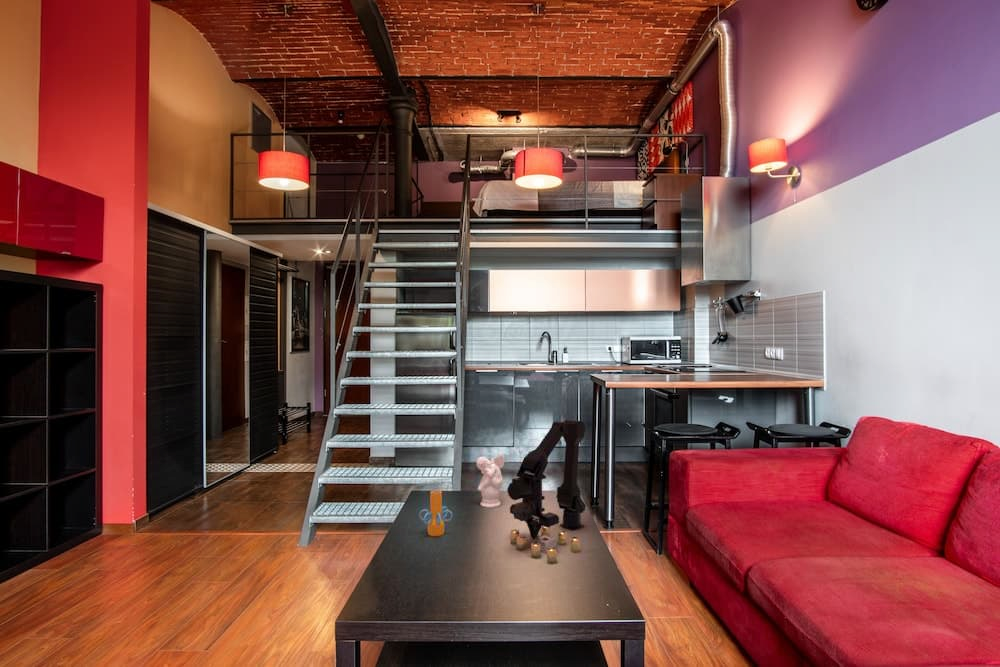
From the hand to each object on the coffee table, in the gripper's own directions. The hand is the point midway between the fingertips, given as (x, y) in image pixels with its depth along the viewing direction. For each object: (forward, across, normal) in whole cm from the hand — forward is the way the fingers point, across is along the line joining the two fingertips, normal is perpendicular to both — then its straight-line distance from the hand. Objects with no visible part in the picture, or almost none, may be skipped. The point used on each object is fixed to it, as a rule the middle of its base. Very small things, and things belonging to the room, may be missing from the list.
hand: (533, 539), depth 174 cm
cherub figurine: (+2, -42, +17) cm, 45 cm away
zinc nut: (+2, +5, 0) cm, 6 cm away
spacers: (+2, +5, 0) cm, 6 cm away
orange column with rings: (+2, -30, -20) cm, 36 cm away
